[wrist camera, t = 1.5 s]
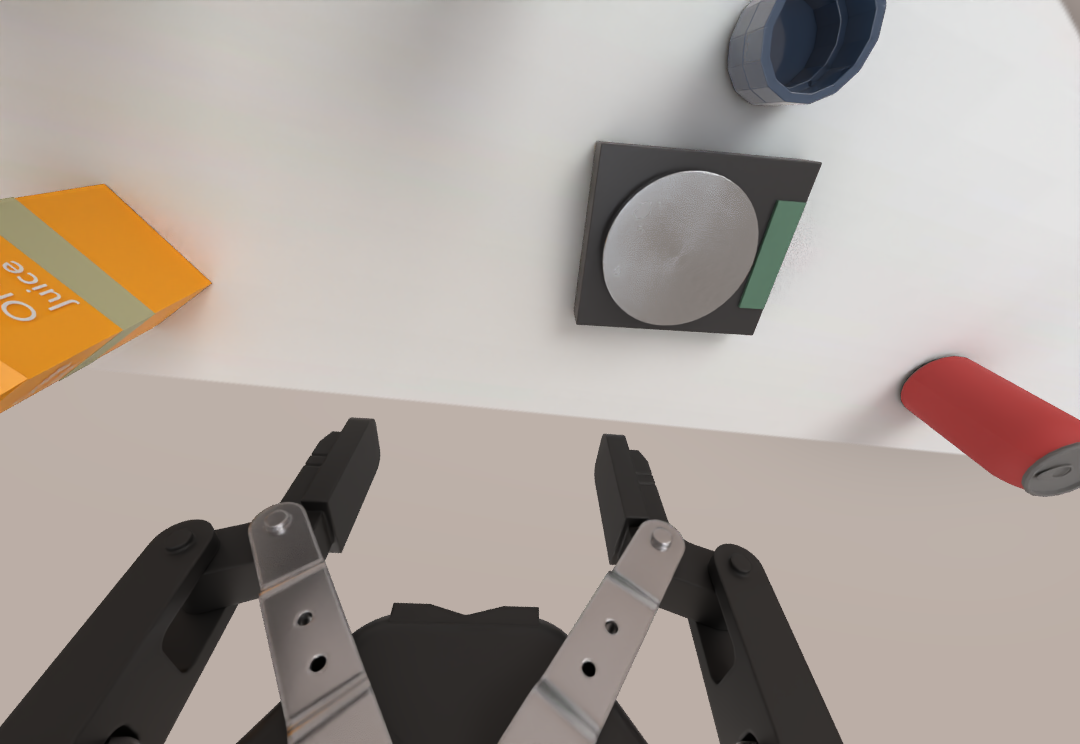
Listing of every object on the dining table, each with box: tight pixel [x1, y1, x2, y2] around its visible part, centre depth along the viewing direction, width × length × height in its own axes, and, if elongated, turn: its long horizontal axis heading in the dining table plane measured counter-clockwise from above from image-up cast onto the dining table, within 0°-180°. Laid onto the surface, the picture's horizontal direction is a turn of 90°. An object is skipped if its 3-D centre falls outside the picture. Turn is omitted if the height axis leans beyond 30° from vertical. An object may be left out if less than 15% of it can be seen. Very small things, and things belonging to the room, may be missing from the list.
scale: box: [574, 141, 822, 335], centre depth 31 cm, size 13×15×3 cm
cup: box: [728, 0, 886, 106], centre depth 23 cm, size 6×6×5 cm
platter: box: [601, 169, 759, 325], centre depth 29 cm, size 11×11×1 cm
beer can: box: [901, 356, 1080, 497], centre depth 35 cm, size 7×7×12 cm
